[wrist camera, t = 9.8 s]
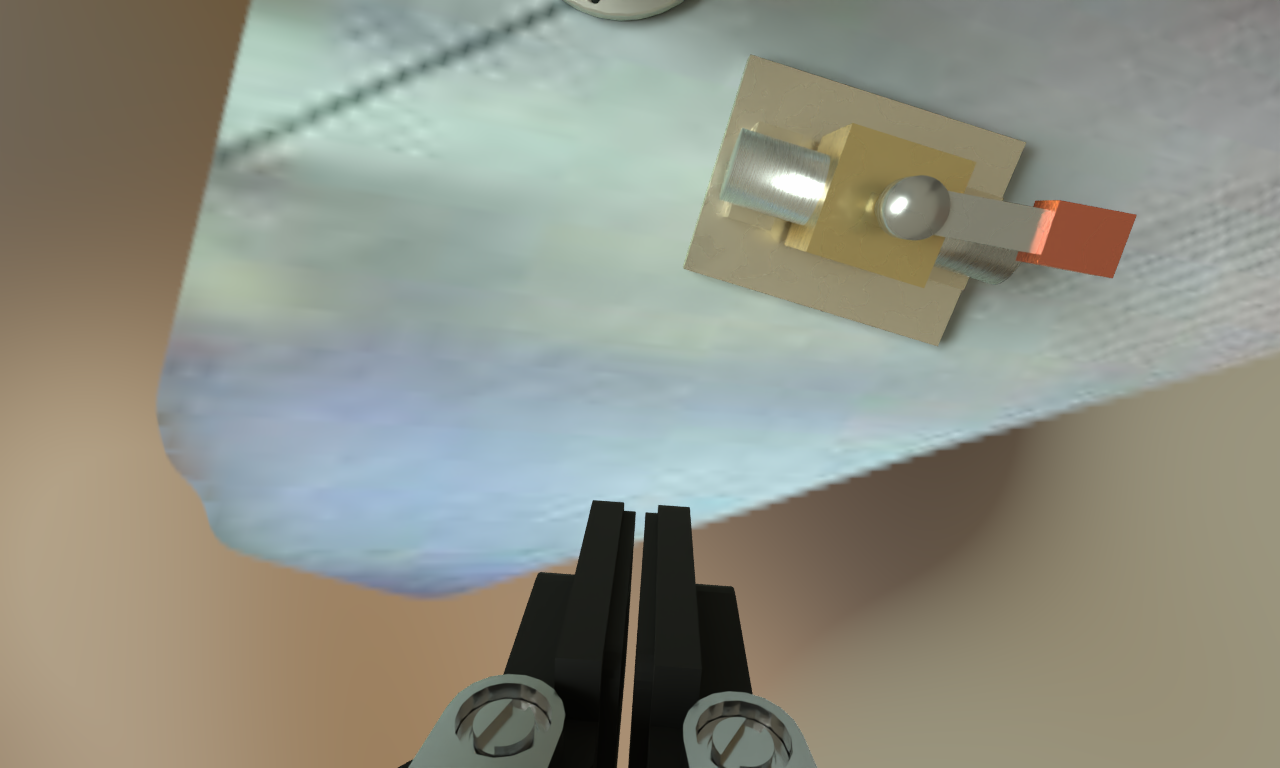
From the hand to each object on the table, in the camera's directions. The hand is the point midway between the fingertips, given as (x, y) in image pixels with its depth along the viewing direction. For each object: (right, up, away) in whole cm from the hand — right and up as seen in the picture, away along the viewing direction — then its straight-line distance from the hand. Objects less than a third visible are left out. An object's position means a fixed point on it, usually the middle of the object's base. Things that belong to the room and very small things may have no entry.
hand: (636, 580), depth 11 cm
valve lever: (+15, +10, +17) cm, 25 cm away
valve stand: (+12, +14, +27) cm, 33 cm away
